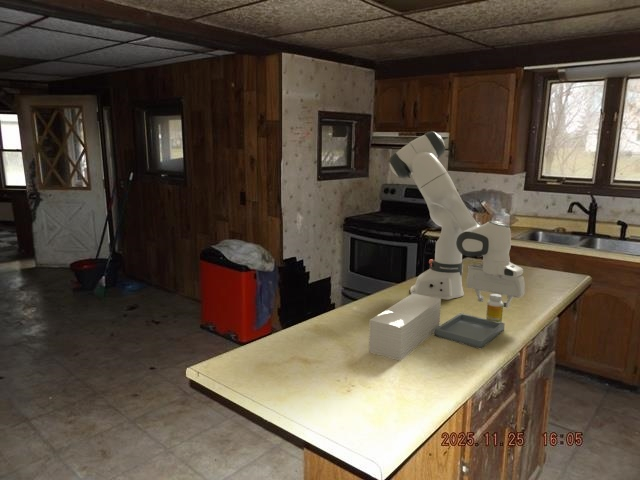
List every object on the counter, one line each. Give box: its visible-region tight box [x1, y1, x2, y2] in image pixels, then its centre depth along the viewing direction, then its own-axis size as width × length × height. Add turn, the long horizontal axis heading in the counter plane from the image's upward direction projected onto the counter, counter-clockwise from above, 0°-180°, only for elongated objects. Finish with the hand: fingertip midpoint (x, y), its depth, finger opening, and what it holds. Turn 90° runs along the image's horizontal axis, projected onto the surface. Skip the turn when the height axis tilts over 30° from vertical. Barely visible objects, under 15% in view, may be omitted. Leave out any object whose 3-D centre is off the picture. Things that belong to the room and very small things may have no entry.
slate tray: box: [434, 312, 505, 350], centre depth 162 cm, size 20×16×2 cm
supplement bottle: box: [485, 293, 504, 323], centre depth 172 cm, size 5×5×10 cm
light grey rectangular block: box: [368, 293, 442, 362], centre depth 156 cm, size 32×11×11 cm, turn 146°
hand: (493, 304), depth 172 cm, fingers open, 8 cm apart
